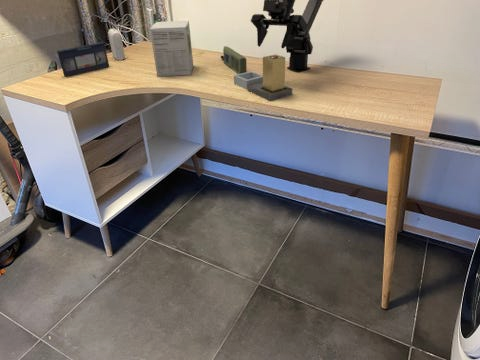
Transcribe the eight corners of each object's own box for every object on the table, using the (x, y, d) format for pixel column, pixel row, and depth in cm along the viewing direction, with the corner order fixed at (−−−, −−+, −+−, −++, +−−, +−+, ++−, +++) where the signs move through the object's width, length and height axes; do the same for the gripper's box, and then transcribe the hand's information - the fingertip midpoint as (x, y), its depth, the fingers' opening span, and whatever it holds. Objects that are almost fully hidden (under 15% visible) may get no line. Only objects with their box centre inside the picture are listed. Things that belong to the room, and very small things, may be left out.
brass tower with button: (274, 90, 126) (275, 53, 120) (284, 94, 123) (285, 56, 116) (262, 94, 124) (262, 56, 117) (272, 98, 120) (272, 59, 114)
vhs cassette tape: (66, 77, 148) (58, 51, 142) (63, 76, 150) (56, 50, 144) (110, 67, 157) (104, 43, 152) (107, 66, 159) (101, 41, 154)
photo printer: (126, 59, 167) (120, 30, 161) (117, 61, 166) (110, 31, 159) (121, 54, 175) (115, 26, 168) (112, 56, 173) (105, 27, 167)
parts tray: (252, 79, 137) (252, 70, 136) (265, 84, 132) (265, 76, 130) (234, 83, 134) (233, 75, 132) (246, 89, 128) (246, 80, 126)
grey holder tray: (248, 91, 127) (247, 85, 126) (269, 85, 131) (269, 79, 130) (269, 101, 118) (269, 95, 117) (292, 94, 122) (292, 88, 121)
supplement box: (190, 75, 144) (185, 27, 135) (156, 76, 144) (149, 28, 135) (194, 65, 155) (189, 20, 146) (162, 66, 156) (155, 21, 146)
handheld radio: (239, 76, 142) (218, 60, 161) (247, 75, 143) (225, 59, 162) (239, 58, 138) (217, 44, 158) (247, 57, 139) (225, 43, 159)
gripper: (250, -13, 122) (234, 32, 122) (301, -14, 112) (284, 35, 111) (265, 7, 131) (251, 49, 131) (314, 8, 121) (298, 53, 121)
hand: (270, 46), depth 123 cm, fingers open, 9 cm apart
